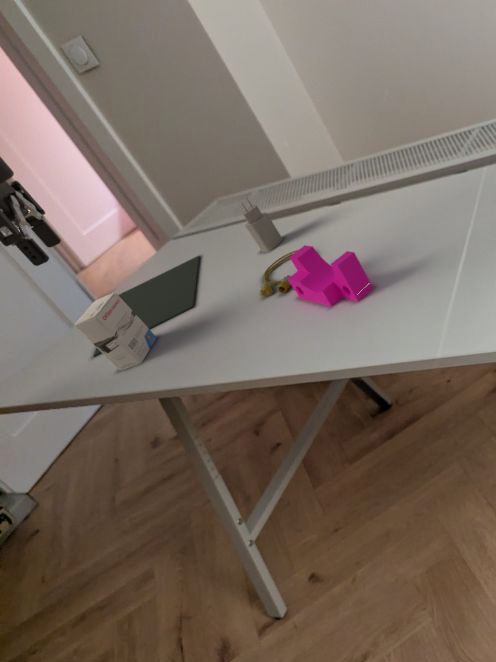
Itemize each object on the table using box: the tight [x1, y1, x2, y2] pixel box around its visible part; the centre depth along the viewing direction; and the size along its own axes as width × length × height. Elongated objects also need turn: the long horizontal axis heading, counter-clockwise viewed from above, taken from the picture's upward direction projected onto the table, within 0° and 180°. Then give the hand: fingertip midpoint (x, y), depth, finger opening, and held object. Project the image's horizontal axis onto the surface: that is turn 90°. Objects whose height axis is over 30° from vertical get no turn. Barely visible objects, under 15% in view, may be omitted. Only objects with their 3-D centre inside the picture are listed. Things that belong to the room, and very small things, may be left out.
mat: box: [93, 255, 201, 358], centre depth 123 cm, size 30×22×1 cm
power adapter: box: [240, 197, 284, 253], centre depth 121 cm, size 3×5×12 cm, turn 158°
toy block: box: [288, 244, 374, 307], centre depth 93 cm, size 15×6×8 cm, turn 51°
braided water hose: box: [260, 249, 299, 298], centre depth 109 cm, size 12×16×2 cm
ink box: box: [73, 292, 158, 371], centre depth 101 cm, size 8×5×12 cm, turn 6°
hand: (49, 253), depth 86 cm, fingers open, 8 cm apart
